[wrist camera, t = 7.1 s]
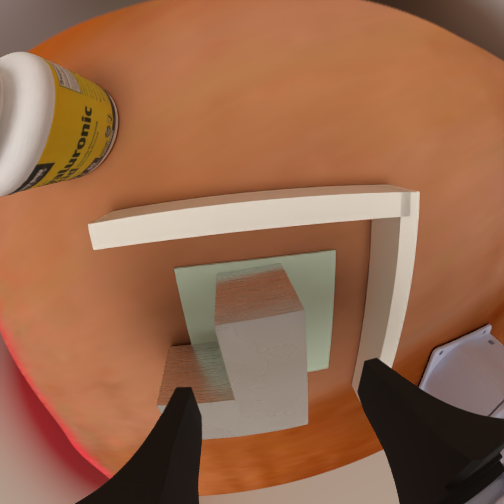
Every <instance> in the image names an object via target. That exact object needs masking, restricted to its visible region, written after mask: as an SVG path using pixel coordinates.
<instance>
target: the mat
mask: <svg viewBox="0 0 504 504" xmlns="http://www.w3.org/2000/svg"><path fill="white" fill-rule="evenodd" d="M276 263H281V264H282V266H283V268H284V270H285V272H286V274H287V276H288V278H289V280H290V282H291V284H292V286H293V288H294V290H295V291H296V293H297V295H298V297H299V299H300V301H301V303H302V305H303V307H304V309H305V321H306V342H307V372H311V371H316V370H321V369H326V368H328V364H329V355H330V345H331V334H332V321H333V307H334V290H335V264H336V250H335V249H333V250H325V251H316V252H308V253H299V254H291V255H282V256H274V257H265V258H256V259H247V260H238V261H230V262H221V263H212V264H203V265H193V266H184V267H175V268H174V272H175V276H176V281H177V286H178V291H179V295H180V300H181V304H182V308H183V313H184V317H185V321H186V325H187V329H188V333H189V337H190V341H191V344H199V343H207V342H215V341H218V338H217V335H216V331H215V327H214V318H215V298H216V280H217V273H223V272H229V271H235V270H241V269H247V268H253V267H259V266H265V265H270V264H276Z"/></svg>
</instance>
